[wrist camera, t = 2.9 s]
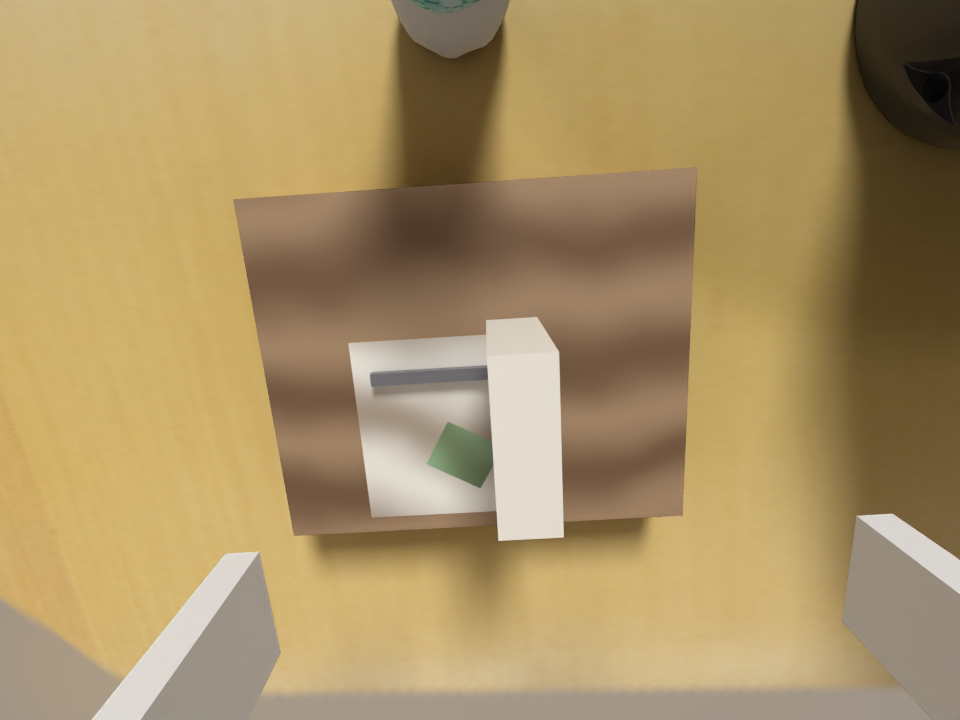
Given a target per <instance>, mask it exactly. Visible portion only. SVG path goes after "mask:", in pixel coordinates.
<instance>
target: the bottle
mask: <svg viewBox="0 0 960 720" xmlns="http://www.w3.org/2000/svg"><path fill="white" fill-rule="evenodd" d="M392 3H393V6H394V8H395V11H396V13H397V16H398V18H399V20H400V21H401V23H402V25H403V27H404V28H405V30H406V32H407V33H408V34H409V36H410V37H411V38H412V39H413V40H414V41H415V42H416V43H418V44H420V45H422V46H423V47H425V48H427V49H428V50H431V51H433V52H435V53H437V54H439V55H440V56H443V57H445V58H451V59H453V58H457V57H459V56H461V55H463V54H465V53H468V52H470V51H473V50H475V49H478V48H482V47H484V46H486V45H487V44H488V43H489V42H490V41H491V40H492V39H493V38H494V36H495V34H496V32H497V30H498V29H499V27H500V25H501V23H502V21H503V19H504V17H505V14H506V11H507V8H508V4H509V0H392Z"/></svg>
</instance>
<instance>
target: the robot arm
mask: <svg viewBox="0 0 960 720" xmlns="http://www.w3.org/2000/svg"><path fill="white" fill-rule="evenodd" d="M855 38H856V50H857V57H858V62H859V67H860V70H861V74H862V77H863V80H864V82H865V85H866V87H867V89H868V92H869V94H870V96H871V97H872V99H873V101H874V102H875V104H876V105H877V107H878V108H879V109H880V111H881V112H882V113H883V114H884V115H885V117H886V118H887V119H888V120H889V121H890V122H891V123H892V124H894V125H895V126H896V127H897V128H899V129H900V130H901V131H903V132H904V133H906V134H907V135H909V136H911V137H913V138H915V139H917V140H920V141H922V142H924V143H928V144H931V145H935V146H939V147H945V148H955V149H960V0H858V5H857V12H856V24H855ZM843 623H844V624H845V625H846V626H847V627H848V628H849V630H850V631H851V632H852V633H853V634H854V635H855V636H856V637H857V638H858V639H859V640H860V641H861V643H862V644H863V645H864V646H865V647H866V648H867V649H868V650H869V651H870V652H871V653H872V654H873V656H874V657H875V658H876V659H877V660H878V661H879V662H880V663H881V664H882V665H883V666H884V667H885V669H886V670H887V671H888V672H889V673H890V674H891V675H892V676H893V677H894V678H895V679H896V680H897V682H898V683H899V684H900V685H901V686H902V687H903V688H904V689H905V690H906V691H907V692H908V693H909V695H910V696H911V697H912V698H913V699H914V700H915V701H916V702H917V703H918V704H919V705H920V706H921V708H923V710H924V711H925V712H926V713H927V714H928V715H929V716H930V717H931V718H932V719H933V720H960V560H959V559H958V558H956V557H955V556H953V555H952V554H951V553H949V552H948V551H946V550H945V549H943V548H942V547H940V546H939V545H937V544H936V543H934V542H933V541H932V540H930V539H929V538H927V537H926V536H924V535H923V534H921V533H920V532H918V531H917V530H916V529H914V528H913V527H911V526H910V525H908V524H907V523H905V522H904V521H902V520H901V519H900V518H898V517H897V516H895V515H894V514H878V515H861V516H856V523H855V530H854V538H853V546H852V553H851V561H850V569H849V576H848V584H847V591H846V599H845V607H844V614H843ZM280 653H281V652H280V647H279V642H278V638H277V633H276V628H275V624H274V619H273V614H272V609H271V605H270V600H269V595H268V591H267V586H266V581H265V577H264V572H263V567H262V562H261V558H260V553H259V552H246V553H229V554H225V555H224V556H223V557H222V559H221V560H220V561H219V562H218V564H217V565H216V566H215V567H214V569H213V570H212V571H211V572H210V574H209V575H208V576H207V577H206V579H205V580H204V581H203V582H202V583H201V585H200V586H199V587H198V588H197V590H196V591H195V592H194V593H193V595H192V596H191V597H190V598H189V600H188V601H187V602H186V603H185V605H184V606H183V607H182V608H181V610H180V611H179V612H178V613H177V614H176V616H175V617H174V618H173V619H172V621H171V622H170V623H169V624H168V626H167V627H166V628H165V629H164V631H163V632H162V633H161V634H160V636H159V637H158V638H157V639H156V641H155V642H154V643H153V644H152V645H151V647H150V648H149V649H148V650H147V652H146V653H145V654H144V655H143V657H142V658H141V659H140V660H139V662H138V663H137V664H136V665H135V667H134V668H133V669H132V670H131V672H130V673H129V674H128V675H127V676H126V678H125V679H124V680H123V681H122V683H121V684H120V685H119V686H118V688H117V689H116V690H115V691H114V693H113V694H112V695H111V696H110V698H109V699H108V700H107V701H106V703H105V704H104V705H103V706H102V708H101V709H100V710H99V711H98V712H97V714H96V715H95V716H94V717H93V719H92V720H248V719H249V717H250V715H251V713H252V711H253V709H254V707H255V705H256V703H257V700H258V698H259V696H260V694H261V692H262V690H263V688H264V686H265V684H266V682H267V680H268V678H269V676H270V674H271V672H272V670H273V667H274V665H275V663H276V661H277V659H278V657H279V655H280Z"/></svg>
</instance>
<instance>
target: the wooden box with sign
mask: <svg viewBox="0 0 960 720" xmlns="http://www.w3.org/2000/svg"><path fill="white" fill-rule="evenodd" d="M696 184H697V167H694V168H680V169H665V170H651V171H637V172H622V173H608V174H593V175H579V176H565V177H550V178H536V179H521V180H507V181H493V182H478V183H464V184H449V185H435V186H421V187H406V188H392V189H378V190H363V191H349V192H334V193H320V194H306V195H291V196H277V197H262V198H248V199H234V206H235V211H236V217H237V222H238V228H239V233H240V239H241V244H242V250H243V256H244V261H245V267H246V272H247V278H248V283H249V289H250V294H251V300H252V305H253V311H254V316H255V322H256V328H257V333H258V339H259V344H260V350H261V355H262V361H263V366H264V372H265V377H266V383H267V388H268V394H269V400H270V405H271V411H272V416H273V422H274V427H275V433H276V438H277V444H278V449H279V455H280V460H281V466H282V471H283V477H284V483H285V488H286V494H287V499H288V505H289V510H290V516H291V521H292V527H293V532H294V536H300V535H319V534H339V533H358V532H377V531H396V530H415V529H434V528H454V527H473V526H492V525H497V511H496V495H495V480H494V464H493V448H492V432H491V416H490V401H489V385H488V380H475V381H458V382H441V383H424V384H408V385H391V386H374V387H371V382H370V373H371V372H381V371H397V370H414V369H431V368H447V367H464V366H480V365H487V345H486V320H497V319H513V318H529V317H538V319H539V321H540V322H541V324H542V325H543V327H544V329H545V330H546V332H547V333H548V335H549V337H550V338H551V340H552V341H553V343H554V344H555V346H556V348H557V349H558V351H559V366H560V405H561V444H562V484H563V522H569V521H588V520H607V519H626V518H645V517H664V516H682V515H683V491H684V468H685V444H686V420H687V397H688V373H689V349H690V326H691V302H692V278H693V255H694V231H695V208H696Z"/></svg>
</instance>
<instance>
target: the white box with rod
mask: <svg viewBox="0 0 960 720" xmlns="http://www.w3.org/2000/svg"><path fill="white" fill-rule="evenodd" d="M486 345H487V365H480V366H464V367H447V368H431V369H414V370H397V371H381V372H371V373H370V382H371V387H374V386H391V385H408V384H424V383H441V382H458V381H475V380H488V385H489V401H490V416H491V432H492V448H493V464H494V480H495V495H496V511H497V527H498V541H505V540H525V539H544V538H564V523H563V484H562V444H561V405H560V366H559V351H558V349H557V348H556V346H555V344H554V343H553V341H552V340H551V338H550V337H549V335H548V333H547V332H546V330H545V329H544V327H543V325H542V324H541V322H540V321H539V319H538V317H529V318H513V319H497V320H486Z"/></svg>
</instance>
